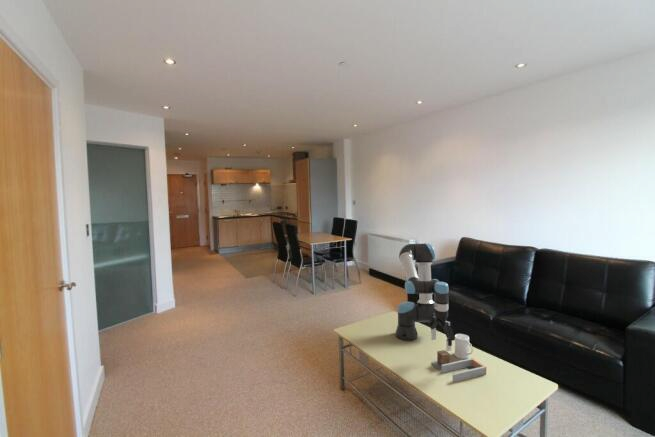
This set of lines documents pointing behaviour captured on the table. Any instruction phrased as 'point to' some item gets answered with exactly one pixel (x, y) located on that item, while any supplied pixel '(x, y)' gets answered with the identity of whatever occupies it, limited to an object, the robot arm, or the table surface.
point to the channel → (471, 364)
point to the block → (443, 357)
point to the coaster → (436, 365)
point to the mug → (462, 346)
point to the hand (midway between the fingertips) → (440, 344)
